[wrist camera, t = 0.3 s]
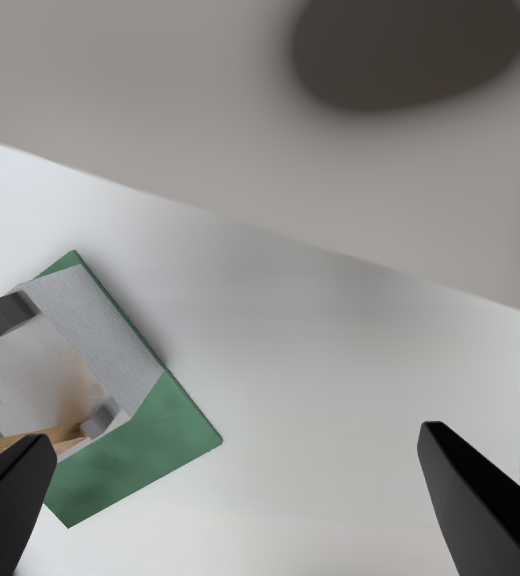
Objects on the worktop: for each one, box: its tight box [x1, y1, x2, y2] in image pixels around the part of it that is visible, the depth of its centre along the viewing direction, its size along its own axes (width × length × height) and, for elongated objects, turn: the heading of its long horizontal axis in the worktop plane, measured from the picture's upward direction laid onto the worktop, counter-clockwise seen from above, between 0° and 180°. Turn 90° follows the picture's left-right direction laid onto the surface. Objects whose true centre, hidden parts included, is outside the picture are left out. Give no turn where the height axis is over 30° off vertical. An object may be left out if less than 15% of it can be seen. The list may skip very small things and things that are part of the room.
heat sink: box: [0, 250, 223, 529], centre depth 22 cm, size 17×16×8 cm
